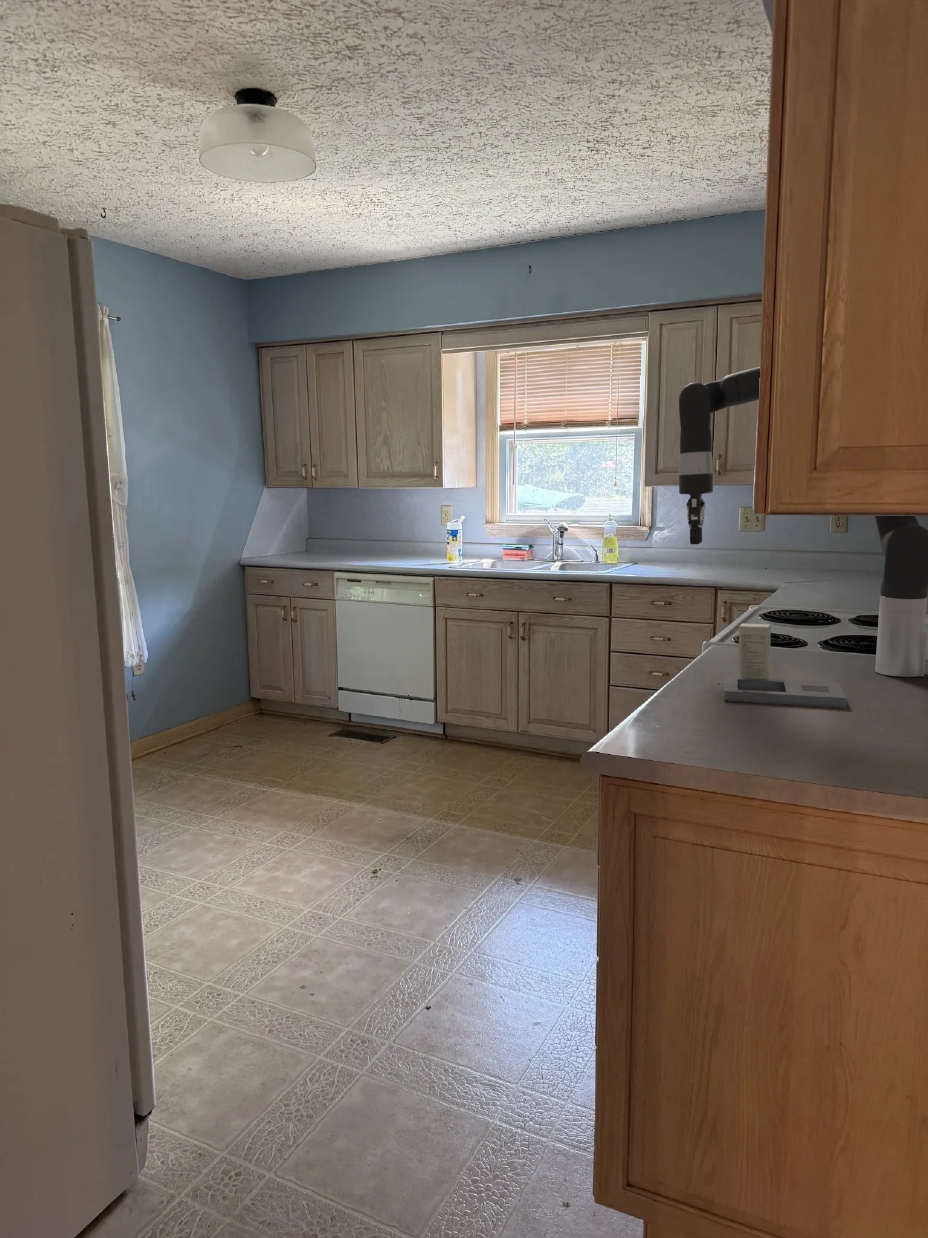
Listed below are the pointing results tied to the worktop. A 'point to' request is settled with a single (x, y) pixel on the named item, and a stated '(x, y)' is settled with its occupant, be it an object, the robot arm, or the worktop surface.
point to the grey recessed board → (785, 692)
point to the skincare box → (754, 651)
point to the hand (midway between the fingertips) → (696, 543)
